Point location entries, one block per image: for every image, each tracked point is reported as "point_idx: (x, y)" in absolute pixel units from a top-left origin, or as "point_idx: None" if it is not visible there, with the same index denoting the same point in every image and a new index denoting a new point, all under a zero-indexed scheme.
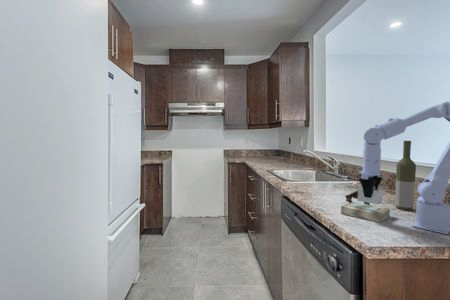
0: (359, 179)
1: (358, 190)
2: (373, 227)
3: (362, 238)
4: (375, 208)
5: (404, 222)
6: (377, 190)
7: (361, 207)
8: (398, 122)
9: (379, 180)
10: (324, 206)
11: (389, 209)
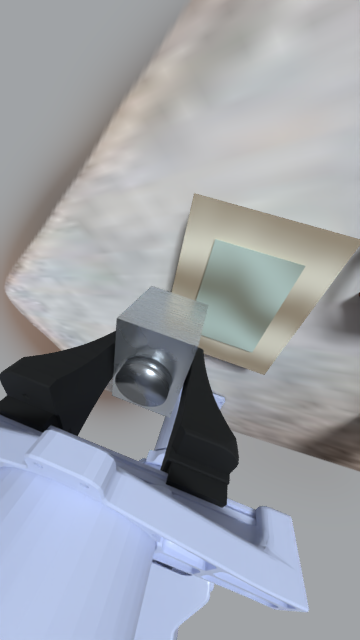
0: (13, 364)
1: (126, 311)
2: (113, 307)
3: (25, 283)
4: (224, 334)
5: (208, 374)
6: (115, 393)
7: (210, 288)
8: None
9: (162, 462)
10: (347, 20)
11: (260, 371)
